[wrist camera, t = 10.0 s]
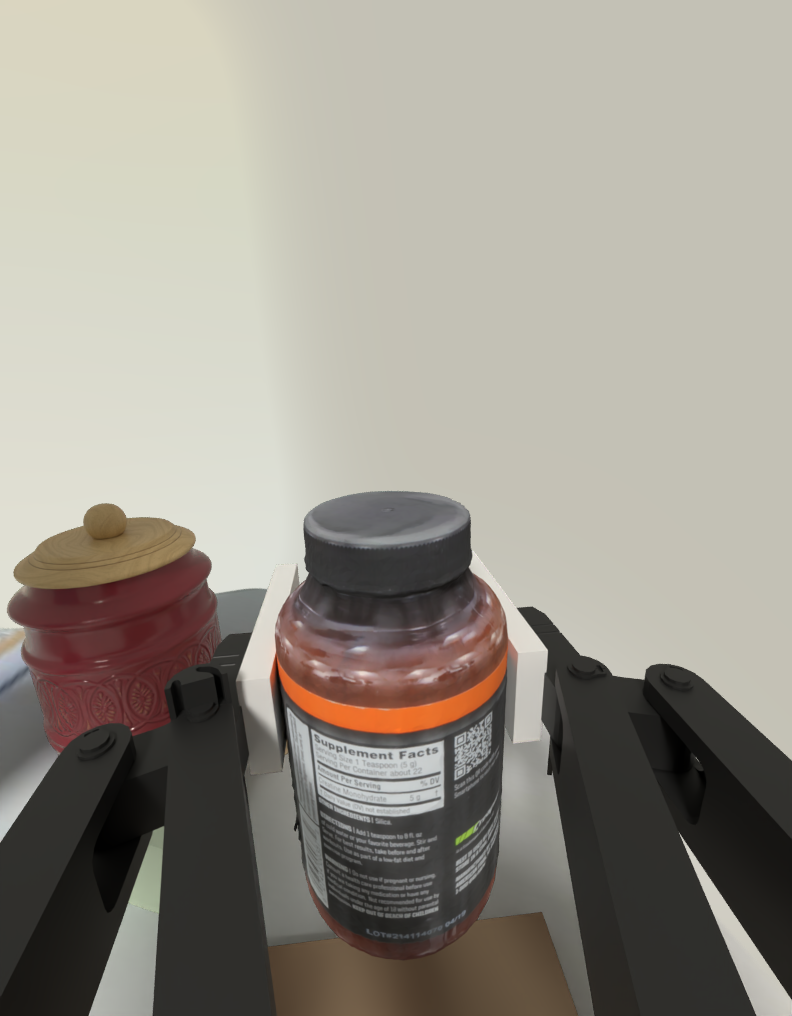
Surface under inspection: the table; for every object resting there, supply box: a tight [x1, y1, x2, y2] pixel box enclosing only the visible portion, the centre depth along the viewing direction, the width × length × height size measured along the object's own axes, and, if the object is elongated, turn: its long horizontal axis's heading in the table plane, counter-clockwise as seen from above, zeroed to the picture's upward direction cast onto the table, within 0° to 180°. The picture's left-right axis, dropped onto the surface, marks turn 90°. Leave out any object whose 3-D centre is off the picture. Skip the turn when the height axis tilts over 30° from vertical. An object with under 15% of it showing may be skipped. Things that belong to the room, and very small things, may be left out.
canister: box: [7, 503, 222, 755], centre depth 34 cm, size 13×13×18 cm
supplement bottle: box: [275, 491, 508, 961], centre depth 12 cm, size 6×6×11 cm
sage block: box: [128, 826, 164, 914], centre depth 24 cm, size 4×4×5 cm
